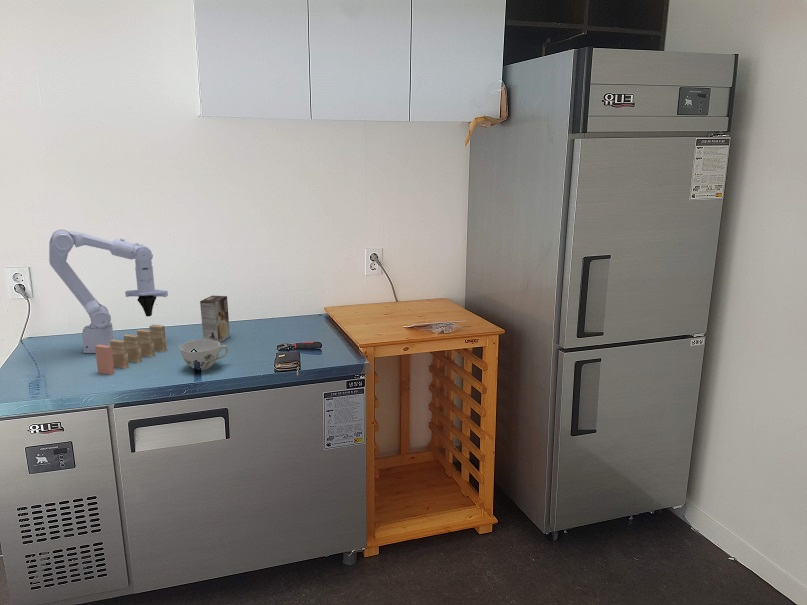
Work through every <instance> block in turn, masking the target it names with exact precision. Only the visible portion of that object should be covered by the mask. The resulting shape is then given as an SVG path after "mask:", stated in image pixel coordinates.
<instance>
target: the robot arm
mask: <svg viewBox="0 0 807 605" xmlns="http://www.w3.org/2000/svg"><path fill="white" fill-rule="evenodd" d="M48 246H49V251H48V253H49V254H48V256H49V259H48V261H49V265H50V266H51V268H52V269H53V271H54V272H56V274H57V276H59V278H60V279H61V280H62V282H63V283H64V284H65V286H67V288H68V289H69V291H70V292H71V293H72V295H73V296H74V297H75V298H76V300H77V301H78V302H79V303H80V305H81V306H82V307H83V309H84V310H85V312H86V313H87V315H88V316H89V319H90V322H91V323H90V324H89V325H86V326H84V327H83V329H82V332H81V337H82V338H81V339H82V346H83V351H82V353H83V354H96V352H95V346H96V345H99V344H100V345H106V346H110V340H113V339H115V338H114V337H115V336H114V331H113V322H111V321H112V318H111V316H112V315H111V314H110V312H109V309H108V307H106V306H105V305H104V304H100V302H99V301H98V300H97V299H96V297H94V295H93V294H92V292H91V291H90V290H89V289H88V287H87V286H86V285H85V284H84V282H83V281H82V280H81V278H80V277H79V276H78V274H76V272H75V271H74V269H73V268H72V267H71V265H70V264H69V262H67V259H68V256H69V253H70V252H71V251H72V249H73V247H74V246H75V248H79V247H83V246H88V247H92V248H96V249H101V250H107V251H109V252H110V254H111V255H112V256H114V257H119V258H124V259H128V260H134V261H135V262H134V263H135V276H136V287H137V289H134V290H131V289H130V290H126V291H124V292H125V293H124V294H125V297H126V298H130V297H138V298H137V302H138V303H139V305H140V306H141V307H142V310H143V312H144V314H145V317H151V316H152V315H153V309H154V305H155V302H156V300H157V297H163V298H167V297H168V296H169V294H168V293H169V292H168V291H169V290H162V289H156V288H155V280H154V269H153V268H154V267H153V265H152V264H153V261H152V259H153V257H154V254H153V253H152V250H151V249H150V248H149V247H147V246H146V245H144V244H139V242H135V243H134V242H133V243H132V242H129V241H126V239H124V238H120V239H118V238H117V239H114V240H112V241H111V240H108V239H104V238H101V237H97V236H93V235H90V234H86V233H83V232H80V231H79V232H77V231H75V230H74V231H73V230H66V229H56V231H54V232H52V235H51V237H50V240H49V243H48Z"/></svg>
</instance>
